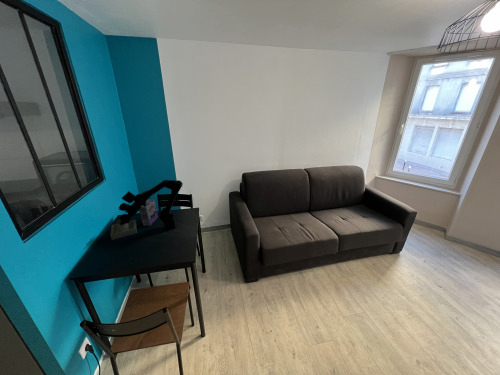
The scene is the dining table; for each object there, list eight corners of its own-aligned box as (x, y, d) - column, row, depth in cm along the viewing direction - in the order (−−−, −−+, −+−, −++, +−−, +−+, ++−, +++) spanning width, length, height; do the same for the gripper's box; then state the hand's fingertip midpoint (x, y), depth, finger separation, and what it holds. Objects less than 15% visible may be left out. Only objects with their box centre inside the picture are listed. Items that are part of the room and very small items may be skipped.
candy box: (150, 226, 146) (145, 207, 140) (143, 226, 146) (137, 207, 140) (158, 216, 159) (154, 199, 153) (151, 216, 159) (147, 199, 153)
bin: (136, 223, 150) (135, 219, 148) (136, 233, 138) (135, 228, 136) (113, 229, 143) (112, 225, 141) (112, 240, 131) (110, 235, 129)
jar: (131, 227, 143) (128, 218, 140) (127, 232, 137) (124, 222, 134) (122, 228, 143) (119, 218, 139) (117, 233, 137) (114, 223, 133)
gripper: (131, 194, 140) (119, 209, 143) (118, 206, 123) (105, 222, 126) (144, 203, 144) (133, 217, 147) (134, 215, 127) (121, 231, 130)
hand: (123, 221), depth 137 cm, fingers open, 9 cm apart
